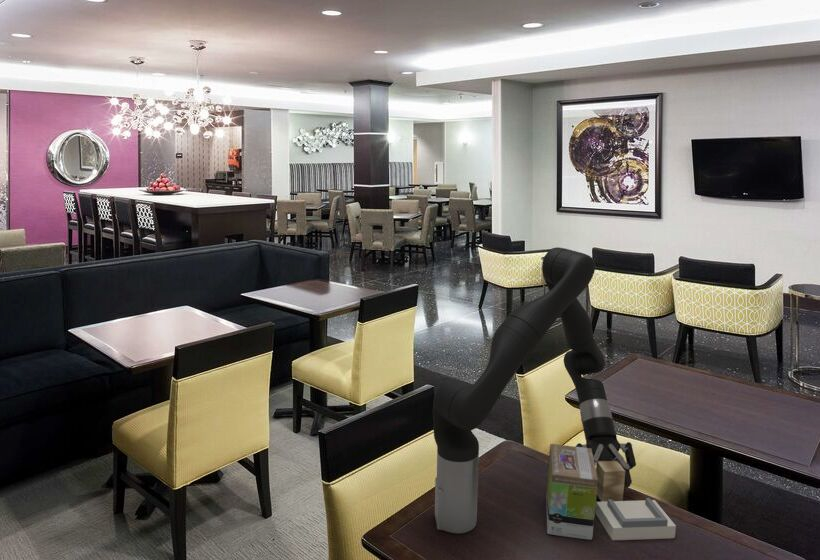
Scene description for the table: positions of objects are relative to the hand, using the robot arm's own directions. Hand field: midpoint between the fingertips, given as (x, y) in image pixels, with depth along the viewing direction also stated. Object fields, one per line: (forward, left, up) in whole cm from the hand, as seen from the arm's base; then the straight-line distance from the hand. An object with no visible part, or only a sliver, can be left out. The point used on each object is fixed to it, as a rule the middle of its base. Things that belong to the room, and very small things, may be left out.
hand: (611, 487), depth 142 cm
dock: (+2, -8, -4) cm, 10 cm away
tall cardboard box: (0, +2, -4) cm, 5 cm away
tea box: (-12, -5, -5) cm, 14 cm away
